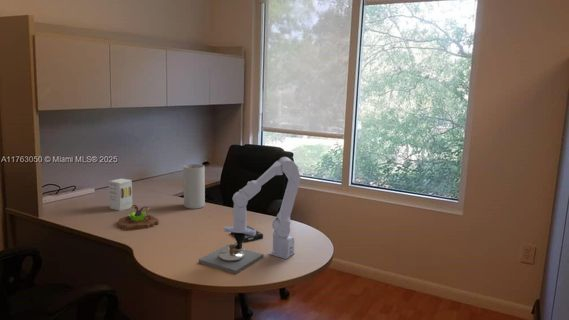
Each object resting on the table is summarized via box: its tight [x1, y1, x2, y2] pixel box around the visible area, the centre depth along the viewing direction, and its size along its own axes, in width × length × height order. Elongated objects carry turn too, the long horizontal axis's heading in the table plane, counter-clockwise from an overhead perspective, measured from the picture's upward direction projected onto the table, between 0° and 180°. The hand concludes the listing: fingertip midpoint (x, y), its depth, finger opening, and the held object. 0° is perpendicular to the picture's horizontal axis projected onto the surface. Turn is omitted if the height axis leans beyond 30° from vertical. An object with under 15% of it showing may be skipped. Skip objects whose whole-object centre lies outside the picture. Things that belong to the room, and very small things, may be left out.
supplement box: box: [108, 177, 133, 212], centre depth 259 cm, size 10×9×17 cm
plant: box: [117, 204, 160, 231], centre depth 234 cm, size 20×20×11 cm
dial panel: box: [198, 244, 264, 275], centre depth 191 cm, size 20×20×2 cm
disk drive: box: [230, 225, 264, 243], centre depth 221 cm, size 10×3×15 cm
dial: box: [219, 241, 244, 262], centre depth 192 cm, size 14×11×5 cm
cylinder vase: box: [182, 163, 206, 210], centre depth 266 cm, size 12×12×25 cm
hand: (239, 248), depth 195 cm, fingers closed
